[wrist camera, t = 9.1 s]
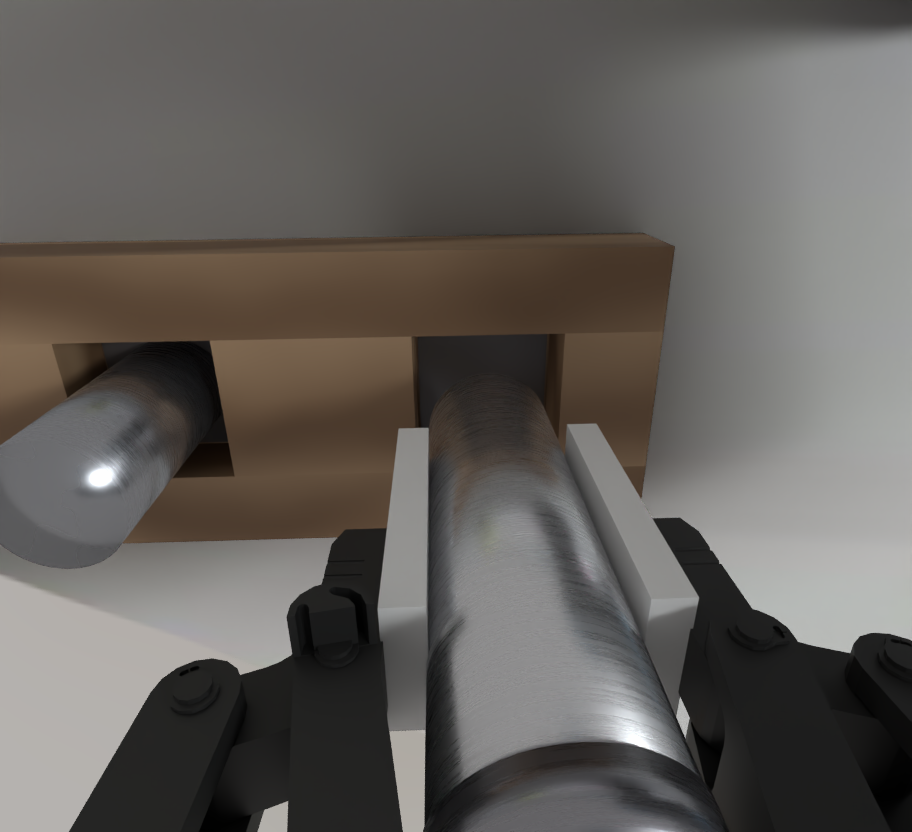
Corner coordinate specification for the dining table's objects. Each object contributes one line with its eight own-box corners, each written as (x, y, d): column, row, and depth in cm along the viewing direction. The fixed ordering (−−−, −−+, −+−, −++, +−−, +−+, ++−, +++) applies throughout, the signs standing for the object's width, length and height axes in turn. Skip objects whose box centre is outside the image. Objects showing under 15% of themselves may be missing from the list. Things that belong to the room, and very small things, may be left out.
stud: (425, 373, 18) (410, 844, 6) (552, 370, 18) (795, 827, 6) (429, 483, 19) (424, 1037, 7) (545, 480, 19) (730, 1022, 7)
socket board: (-14, 243, 20) (-85, 258, 17) (643, 232, 21) (674, 246, 18) (68, 500, 24) (21, 546, 21) (615, 486, 25) (637, 529, 22)
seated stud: (115, 338, 21) (-53, 443, 14) (219, 336, 21) (108, 440, 14) (138, 431, 23) (-2, 570, 15) (235, 429, 23) (142, 566, 15)
